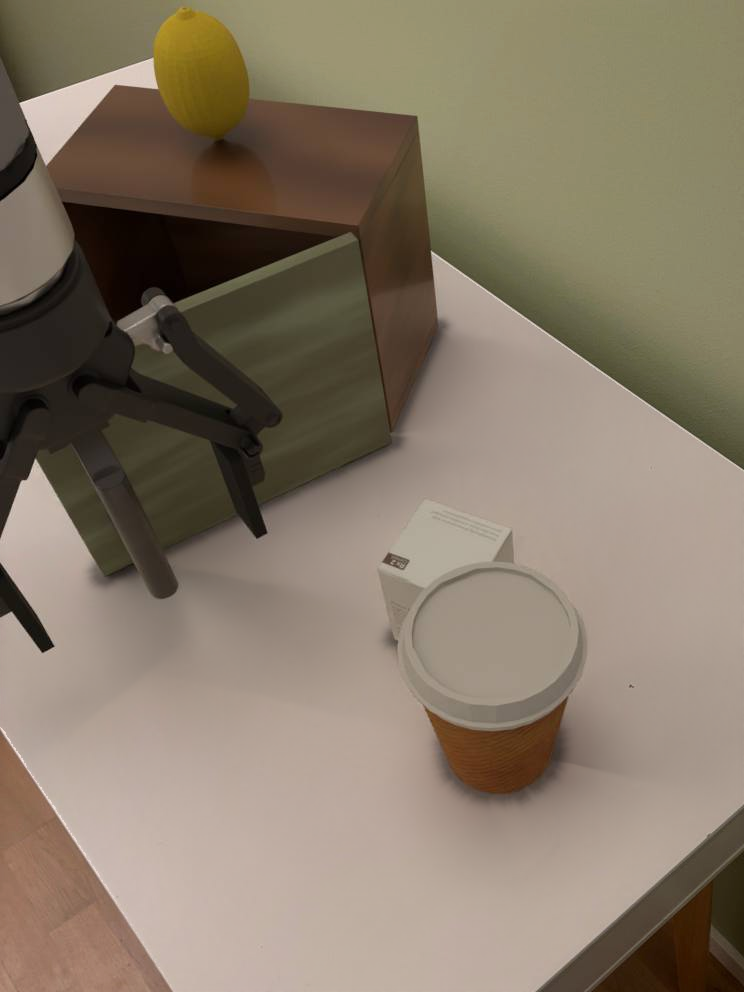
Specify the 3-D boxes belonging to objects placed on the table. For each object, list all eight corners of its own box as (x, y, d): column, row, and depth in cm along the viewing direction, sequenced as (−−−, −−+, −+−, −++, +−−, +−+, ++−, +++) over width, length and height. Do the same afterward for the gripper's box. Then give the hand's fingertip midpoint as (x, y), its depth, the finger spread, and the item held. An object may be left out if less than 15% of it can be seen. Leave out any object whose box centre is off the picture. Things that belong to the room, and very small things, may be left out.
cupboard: (392, 432, 75) (358, 225, 61) (120, 388, 79) (29, 184, 65) (438, 325, 82) (417, 115, 67) (184, 289, 86) (114, 84, 71)
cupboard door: (440, 502, 71) (416, 302, 57) (141, 649, 65) (34, 466, 52) (385, 434, 75) (350, 231, 61) (99, 567, 69) (-11, 376, 55)
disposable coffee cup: (502, 853, 57) (494, 752, 47) (384, 749, 61) (354, 635, 51) (614, 740, 60) (628, 624, 50) (495, 649, 64) (487, 524, 54)
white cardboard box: (518, 600, 66) (516, 526, 60) (476, 674, 63) (469, 604, 57) (434, 570, 68) (424, 495, 62) (390, 640, 65) (374, 568, 59)
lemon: (248, 165, 65) (214, 33, 58) (164, 161, 66) (122, 30, 59) (271, 117, 68) (242, -14, 61) (191, 113, 69) (154, -16, 62)
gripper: (216, 120, 48) (302, 444, 66) (-344, 343, 41) (-79, 639, 59) (294, 195, 45) (363, 516, 62) (-305, 452, 37) (-35, 733, 55)
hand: (149, 576), depth 60 cm, fingers open, 13 cm apart
